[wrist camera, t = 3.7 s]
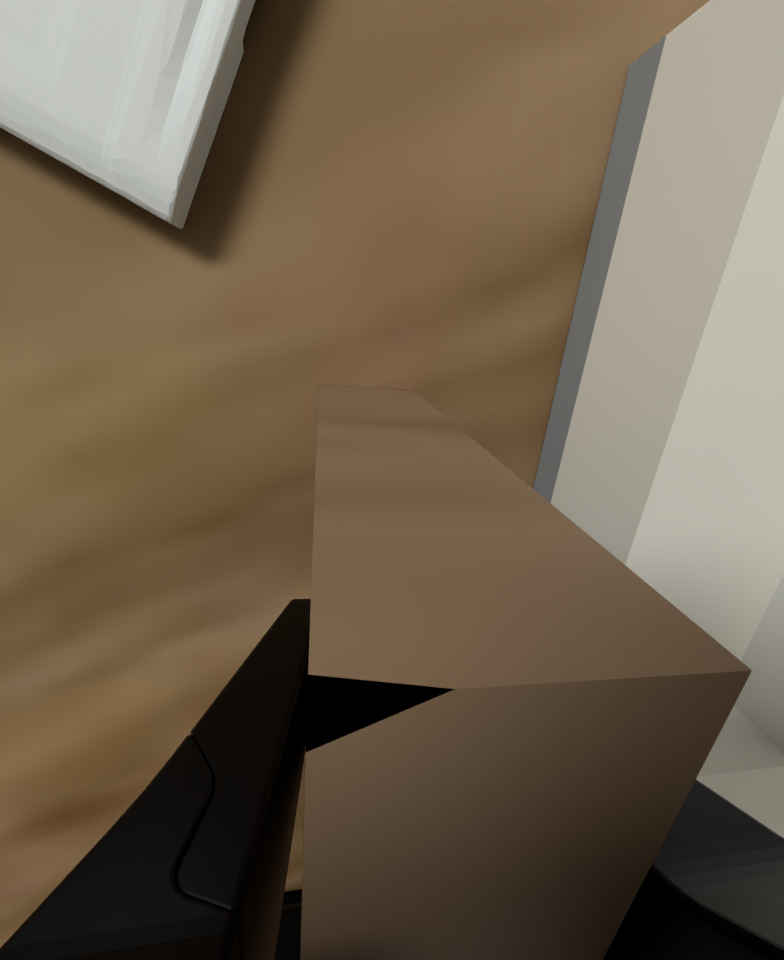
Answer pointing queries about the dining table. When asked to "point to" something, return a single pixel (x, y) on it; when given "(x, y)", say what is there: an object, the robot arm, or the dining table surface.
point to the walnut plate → (481, 704)
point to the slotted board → (692, 364)
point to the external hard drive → (122, 89)
